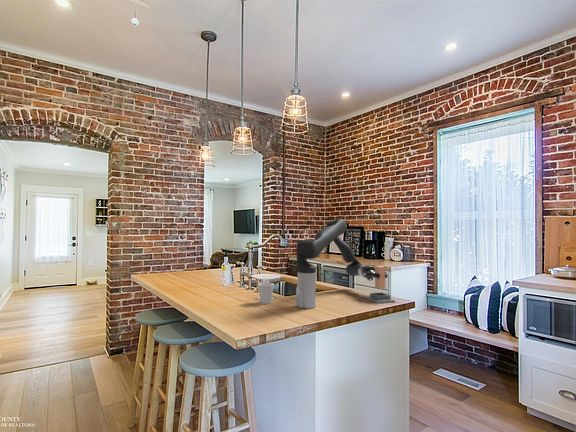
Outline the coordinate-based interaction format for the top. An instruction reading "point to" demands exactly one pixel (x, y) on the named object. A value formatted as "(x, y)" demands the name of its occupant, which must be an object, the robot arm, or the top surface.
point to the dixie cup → (265, 292)
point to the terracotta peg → (380, 281)
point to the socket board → (379, 298)
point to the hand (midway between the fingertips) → (383, 276)
